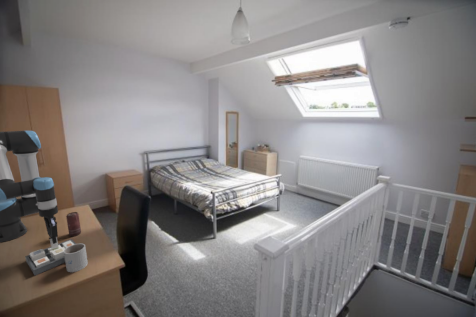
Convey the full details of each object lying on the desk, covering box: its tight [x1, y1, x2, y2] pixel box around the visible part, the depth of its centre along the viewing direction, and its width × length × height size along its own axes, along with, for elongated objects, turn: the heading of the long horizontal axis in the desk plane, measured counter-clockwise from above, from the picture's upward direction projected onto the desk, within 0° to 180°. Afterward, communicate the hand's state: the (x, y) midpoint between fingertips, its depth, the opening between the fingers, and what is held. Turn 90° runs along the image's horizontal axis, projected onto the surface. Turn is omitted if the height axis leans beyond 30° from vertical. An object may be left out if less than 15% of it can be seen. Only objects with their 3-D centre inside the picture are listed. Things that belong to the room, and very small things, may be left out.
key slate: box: [28, 248, 46, 262], centre depth 113 cm, size 5×5×3 cm
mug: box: [64, 243, 89, 273], centre depth 110 cm, size 12×9×10 cm
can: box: [65, 211, 82, 237], centre depth 137 cm, size 6×6×14 cm
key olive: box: [48, 245, 62, 257], centre depth 119 cm, size 5×5×3 cm
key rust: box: [34, 256, 50, 268], centre depth 109 cm, size 5×5×3 cm
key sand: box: [52, 247, 65, 260], centre depth 114 cm, size 5×5×3 cm
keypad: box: [24, 238, 77, 277], centre depth 116 cm, size 17×20×3 cm
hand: (55, 247), depth 118 cm, fingers closed
